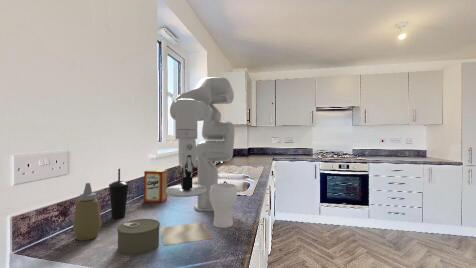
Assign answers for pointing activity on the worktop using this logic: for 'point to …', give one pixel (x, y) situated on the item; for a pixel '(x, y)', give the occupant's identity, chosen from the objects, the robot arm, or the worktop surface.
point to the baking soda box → (155, 186)
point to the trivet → (184, 233)
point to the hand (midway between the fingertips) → (186, 186)
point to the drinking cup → (118, 197)
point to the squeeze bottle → (87, 215)
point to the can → (138, 237)
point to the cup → (223, 203)
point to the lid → (186, 190)
